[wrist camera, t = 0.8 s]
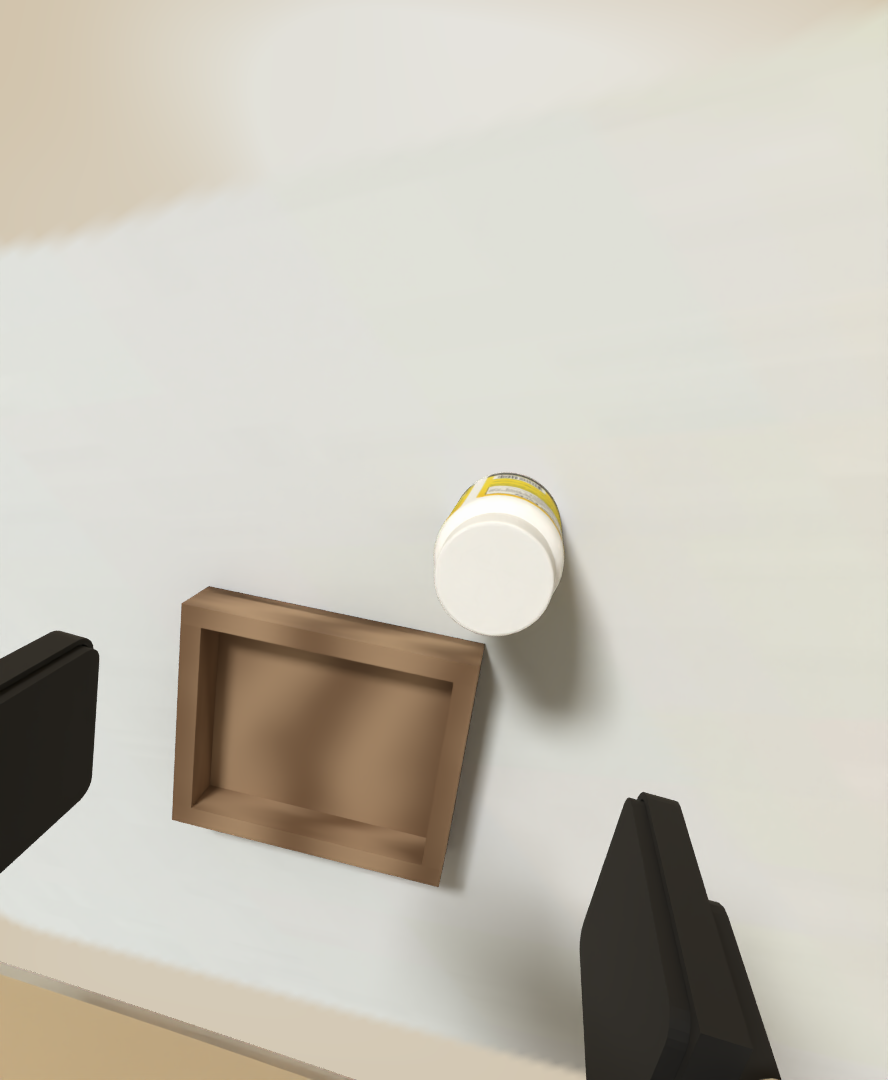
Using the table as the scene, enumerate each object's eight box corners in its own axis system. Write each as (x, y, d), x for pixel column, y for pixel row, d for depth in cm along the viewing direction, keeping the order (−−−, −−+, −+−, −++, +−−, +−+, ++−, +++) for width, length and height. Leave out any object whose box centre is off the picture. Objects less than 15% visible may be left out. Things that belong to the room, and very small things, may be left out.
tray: (484, 644, 31) (479, 666, 28) (446, 850, 34) (438, 887, 32) (208, 586, 32) (181, 603, 30) (197, 789, 36) (172, 819, 33)
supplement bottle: (482, 588, 30) (458, 668, 22) (437, 498, 29) (395, 546, 21) (579, 548, 29) (590, 616, 21) (534, 452, 28) (528, 485, 20)
